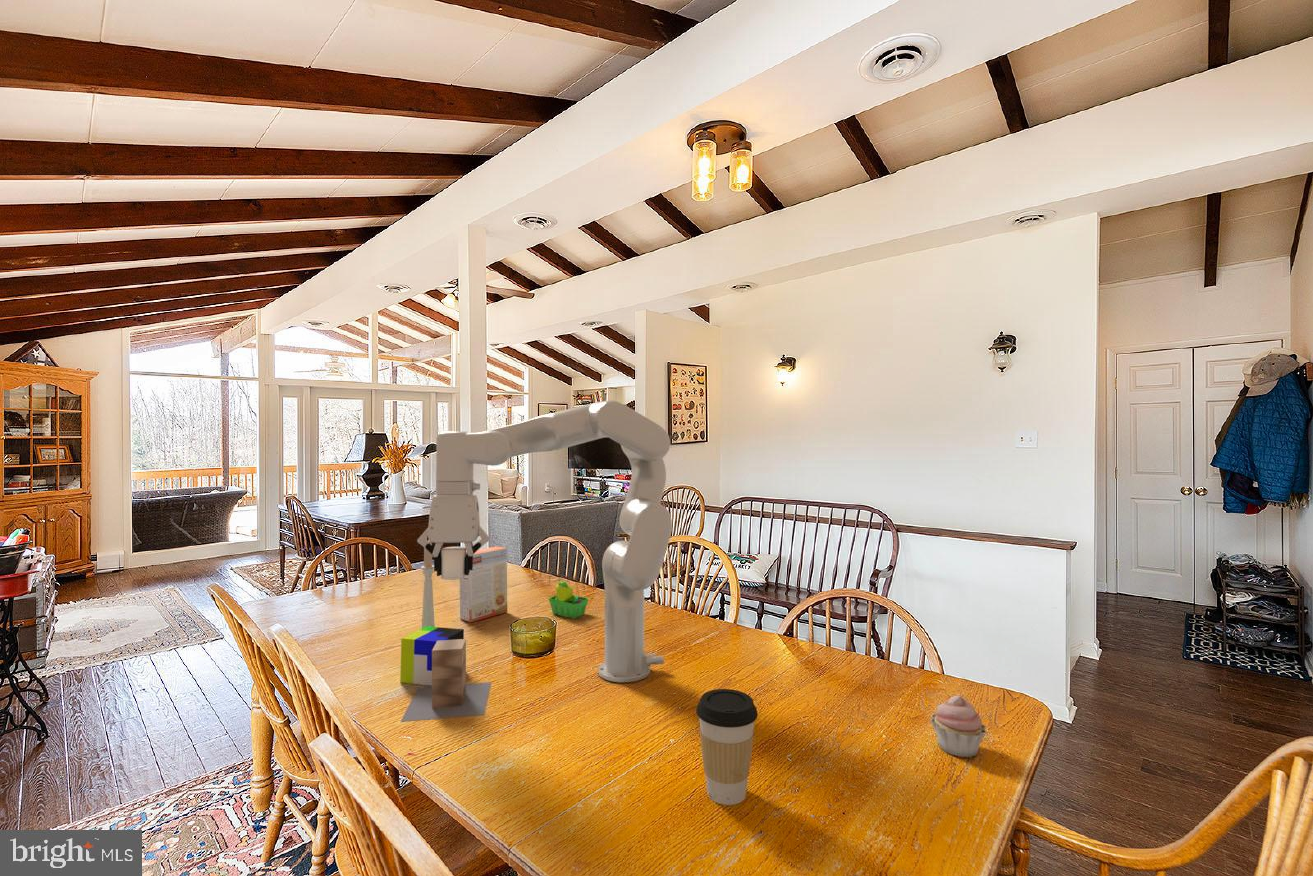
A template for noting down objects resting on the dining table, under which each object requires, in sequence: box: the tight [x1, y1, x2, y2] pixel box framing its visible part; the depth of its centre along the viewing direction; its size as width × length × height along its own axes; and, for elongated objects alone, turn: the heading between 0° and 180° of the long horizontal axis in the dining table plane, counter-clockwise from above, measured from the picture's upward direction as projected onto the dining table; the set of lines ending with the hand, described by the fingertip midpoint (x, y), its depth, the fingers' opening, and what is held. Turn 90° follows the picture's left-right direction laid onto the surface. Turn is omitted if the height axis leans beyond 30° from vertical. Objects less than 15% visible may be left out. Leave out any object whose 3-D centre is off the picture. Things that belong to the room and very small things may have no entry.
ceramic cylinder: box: [440, 546, 467, 581], centre depth 125 cm, size 5×5×6 cm
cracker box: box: [459, 545, 508, 623], centre depth 185 cm, size 14×6×21 cm, turn 140°
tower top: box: [432, 638, 467, 679], centre depth 126 cm, size 6×6×6 cm
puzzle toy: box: [399, 626, 465, 686], centre depth 138 cm, size 10×10×10 cm
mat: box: [400, 681, 492, 723], centre depth 126 cm, size 16×16×1 cm
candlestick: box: [420, 539, 436, 629], centre depth 153 cm, size 13×13×30 cm
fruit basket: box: [548, 580, 589, 619], centre depth 187 cm, size 11×9×11 cm
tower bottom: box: [432, 666, 467, 708], centre depth 126 cm, size 6×6×6 cm
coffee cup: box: [695, 688, 759, 806], centre depth 94 cm, size 10×10×15 cm
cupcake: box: [929, 695, 988, 759], centre depth 108 cm, size 9×9×10 cm
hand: (453, 573), depth 125 cm, fingers closed on ceramic cylinder, 5 cm apart
